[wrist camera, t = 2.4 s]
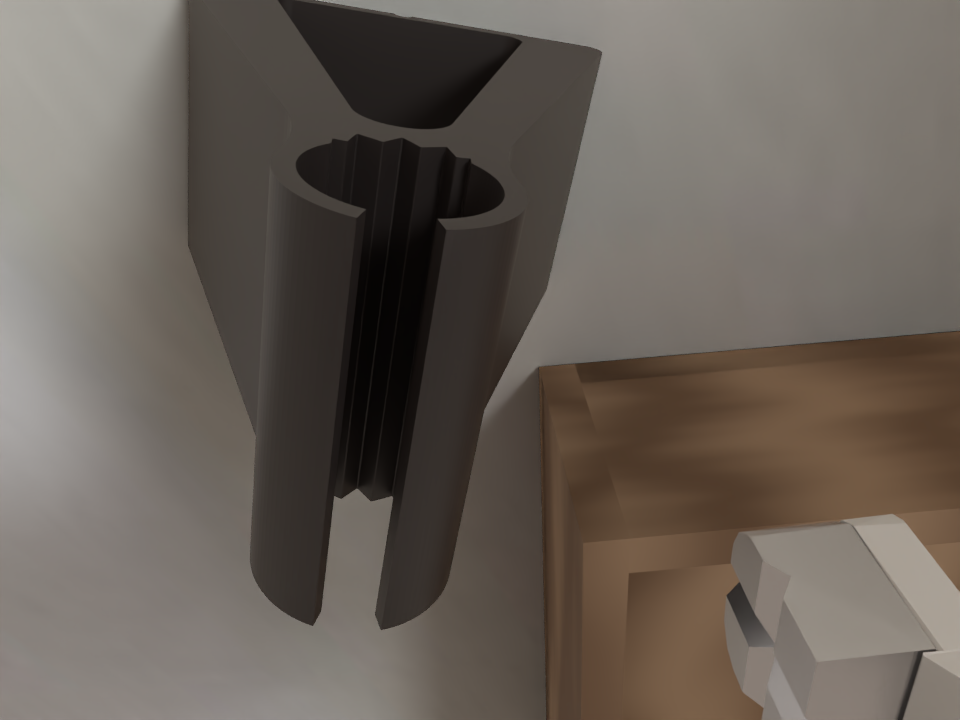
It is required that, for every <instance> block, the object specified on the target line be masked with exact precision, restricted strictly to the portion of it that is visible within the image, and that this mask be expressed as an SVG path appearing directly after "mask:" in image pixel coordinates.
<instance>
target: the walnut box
mask: <svg viewBox="0 0 960 720" xmlns="http://www.w3.org/2000/svg"><path fill="white" fill-rule="evenodd" d="M539 394H540V440H541V487H542V533H543V579H544V626H545V672H546V719H547V720H762V715H763V709H764V708H763V707H762V706H760V705H759V704H758V703H756V702H755V701H754V700H752V699H751V698H750V697H748V696H747V695H746V694H744V693H743V692H742V690H741V687H740V685H739V682H738V680H737V677H736V675H735V672H734V670H733V666H732V663H731V659H730V656H729V652H728V649H727V641H726V632H725V624H724V616H725V605H726V595H727V594H728V593H729V592H730V591H731V590H732V589H733V588H734V587H735V586H736V585H737V584H738V583H739V582H740V581H739V579H738V577H737V575H736V573H735V571H734V569H733V566H732V564H731V556H732V549H733V543H734V541H735V539H736V537H737V535H738V533H739V532H744V531H752V530H761V529H769V528H778V527H787V526H795V525H804V524H813V523H821V522H830V521H838V522H839V521H841V520H845V519H853V518H862V517H870V516H879V515H887V514H894V515H895V516H897V517H899V518H901V519H902V520H904V521H905V523H906V524H907V525H908V526H909V528H910V529H911V530H912V531H913V533H914V534H915V535H916V537H917V538H918V539H919V540H920V542H921V543H922V544H923V546H924V547H925V548H926V549H927V551H928V552H929V553H930V555H931V556H932V557H933V558H934V560H935V561H936V562H937V563H938V565H939V566H940V567H941V569H942V570H943V571H944V572H945V574H946V575H947V576H948V578H949V579H950V580H951V581H952V583H953V584H954V585H955V587H956V588H957V589H958V590H959V592H960V331H956V332H944V333H932V334H921V335H909V336H897V337H885V338H874V339H862V340H850V341H838V342H827V343H815V344H803V345H791V346H780V347H768V348H756V349H744V350H733V351H721V352H709V353H697V354H685V355H674V356H662V357H650V358H638V359H627V360H615V361H603V362H591V363H580V364H568V365H556V366H544V367H539Z"/></svg>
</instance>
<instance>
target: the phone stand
mask: <svg viewBox="0 0 960 720" xmlns="http://www.w3.org/2000/svg"><path fill="white" fill-rule="evenodd" d="M601 55H602V52H601V51H599V50H597V49H594V48H591V47H586V46H580V45H575V44H569V43H563V42H557V41H551V40H545V39H539V38H533V37H527V36H522V35H516V34H510V33H504V32H498V31H492V30H486V29H480V28H474V27H469V26H463V25H457V24H451V23H445V22H439V21H433V20H427V19H422V18H416V17H401V16H397V15H395V14H392V13H386V12H380V11H374V10H369V9H363V8H357V7H351V6H345V5H339V4H333V3H327V2H321V1H316V0H189V122H188V246H189V249H190V251H191V254H192V257H193V260H194V263H195V265H196V268H197V271H198V274H199V277H200V280H201V282H202V285H203V288H204V291H205V294H206V296H207V299H208V302H209V305H210V308H211V311H212V313H213V316H214V319H215V322H216V325H217V327H218V330H219V333H220V336H221V339H222V342H223V344H224V347H225V350H226V353H227V356H228V358H229V361H230V364H231V367H232V370H233V373H234V375H235V378H236V381H237V384H238V387H239V389H240V392H241V395H242V398H243V401H244V404H245V406H246V409H247V412H248V415H249V418H250V420H251V423H252V426H253V429H254V432H255V434H256V447H255V467H254V486H253V506H252V525H251V544H250V564H251V569H252V573H253V575H254V578H255V580H256V582H257V584H258V586H259V587H260V589H261V591H262V592H263V593H264V594H265V596H266V597H267V598H268V599H269V600H270V601H271V602H272V603H273V604H274V605H275V606H277V607H278V608H279V609H281V610H282V611H283V612H285V613H286V614H288V615H290V616H291V617H293V618H295V619H297V620H299V621H302V622H304V623H306V624H309V625H312V626H313V625H314V623H315V621H316V619H317V618H318V616H319V614H320V612H321V607H322V598H323V589H324V581H325V572H326V563H327V554H328V545H329V536H330V527H331V518H332V509H333V500H334V496H336V497H338V498H340V499H342V498H343V497H345V496H346V495H348V494H349V493H351V492H352V491H353V490H355V489H356V488H357V489H359V490H360V491H361V492H362V493H363V494H364V495H365V496H366V497H367V498H368V499H369V500H370V501H375V500H378V499H382V498H386V497H390V496H393V504H392V510H391V516H390V523H389V529H388V535H387V542H386V548H385V555H384V561H383V567H382V574H381V580H380V586H379V593H378V599H377V605H376V612H375V616H376V618H377V621H378V624H379V626H380V629H381V630H383V629H388V628H391V627H394V626H397V625H400V624H403V623H405V622H407V621H409V620H411V619H413V618H415V617H417V616H418V615H420V614H421V613H423V612H424V611H425V610H427V609H428V608H429V607H430V606H431V605H432V604H433V603H434V602H435V601H436V600H437V599H438V597H439V596H440V595H441V593H442V592H443V590H444V588H445V586H446V584H447V581H448V578H449V574H450V569H451V564H452V559H453V555H454V550H455V545H456V540H457V536H458V531H459V526H460V522H461V517H462V512H463V507H464V503H465V498H466V493H467V488H468V484H469V479H470V474H471V470H472V465H473V460H474V455H475V451H476V446H477V441H478V436H479V432H480V427H481V422H482V417H483V413H484V409H485V407H486V405H487V403H488V401H489V399H490V397H491V396H492V394H493V392H494V390H495V388H496V386H497V384H498V382H499V380H500V378H501V376H502V374H503V372H504V370H505V368H506V367H507V365H508V363H509V361H510V359H511V357H512V355H513V353H514V351H515V349H516V347H517V345H518V343H519V341H520V340H521V338H522V336H523V334H524V332H525V330H526V328H527V326H528V324H529V322H530V320H531V318H532V316H533V314H534V312H535V311H536V309H537V307H538V305H539V303H540V301H541V299H542V297H543V295H544V293H545V291H546V289H547V285H548V281H549V276H550V272H551V268H552V264H553V259H554V255H555V251H556V247H557V242H558V238H559V234H560V230H561V225H562V221H563V217H564V213H565V208H566V204H567V200H568V196H569V191H570V187H571V183H572V179H573V174H574V170H575V166H576V162H577V157H578V153H579V149H580V145H581V140H582V136H583V132H584V128H585V123H586V119H587V115H588V111H589V106H590V102H591V98H592V94H593V89H594V85H595V81H596V77H597V72H598V68H599V64H600V60H601Z"/></svg>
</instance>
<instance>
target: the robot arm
mask: <svg viewBox="0 0 960 720" xmlns="http://www.w3.org/2000/svg"><path fill="white" fill-rule="evenodd" d="M731 564H732V566H733V569H734V571H735V573H736V575H737V577H738V579H739V581H740V582H739V583H738V584H737V585H736V586H735V587H734V588H733V589H732V590H731V591H730V592H729V593H728V594H727V595H726V605H725V616H724V624H725V632H726V641H727V649H728V652H729V656H730V659H731V663H732V666H733V670H734V672H735V675H736V677H737V680H738V682H739V685H740V687H741V690H742V692H743V693H744V694H746V695H747V696H748V697H750V698H751V699H752V700H754V701H755V702H756V703H758V704H759V705H760V706H762V707H763V708H764V709H763V715H762V720H960V592H959V590H958V589H957V588H956V587H955V585H954V584H953V583H952V581H951V580H950V579H949V578H948V576H947V575H946V574H945V572H944V571H943V570H942V569H941V567H940V566H939V565H938V563H937V562H936V561H935V560H934V558H933V557H932V556H931V555H930V553H929V552H928V551H927V549H926V548H925V547H924V546H923V544H922V543H921V542H920V540H919V539H918V538H917V537H916V535H915V534H914V533H913V531H912V530H911V529H910V528H909V526H908V525H907V524H906V523H905V521H904V520H902V519H901V518H899V517H897V516H895V515H894V514H887V515H879V516H870V517H862V518H853V519H845V520H841V521H839V522H838V521H830V522H821V523H813V524H804V525H795V526H787V527H778V528H769V529H761V530H752V531H744V532H739V533H738V535H737V537H736V539H735V541H734V543H733V549H732V556H731Z"/></svg>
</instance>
